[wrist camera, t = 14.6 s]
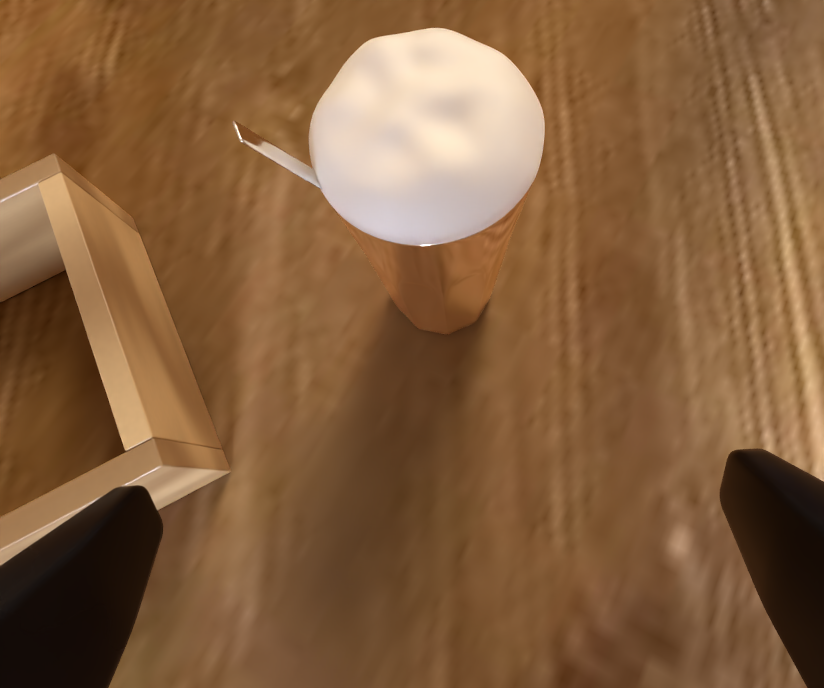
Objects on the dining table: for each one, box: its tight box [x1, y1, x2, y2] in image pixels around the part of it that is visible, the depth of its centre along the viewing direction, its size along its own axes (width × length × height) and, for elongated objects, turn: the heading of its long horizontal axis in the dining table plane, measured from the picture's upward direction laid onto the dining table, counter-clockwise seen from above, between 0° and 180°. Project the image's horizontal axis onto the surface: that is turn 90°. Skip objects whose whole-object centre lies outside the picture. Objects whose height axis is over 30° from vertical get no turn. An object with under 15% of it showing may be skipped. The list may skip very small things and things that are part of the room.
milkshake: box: [233, 28, 545, 335], centre depth 13 cm, size 5×5×10 cm
